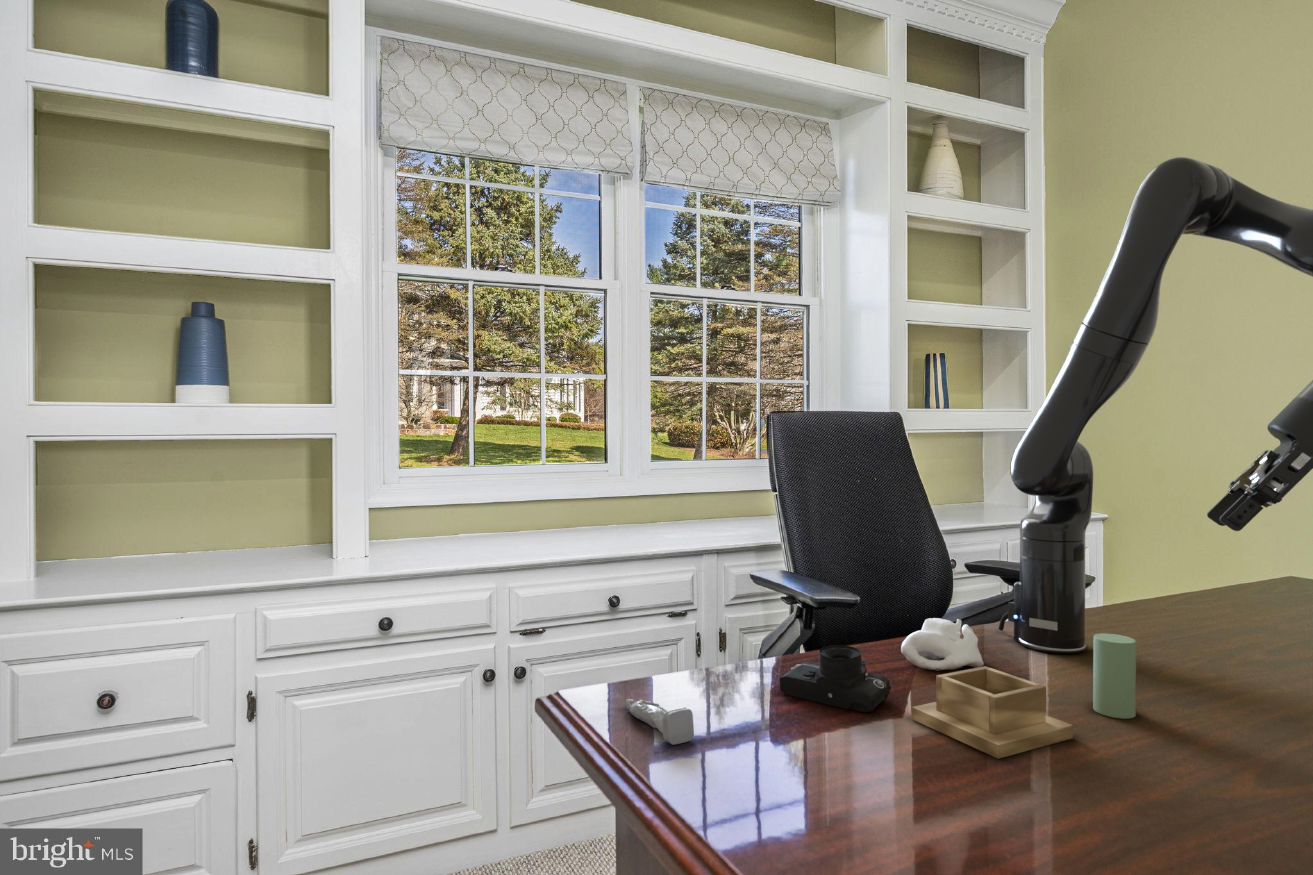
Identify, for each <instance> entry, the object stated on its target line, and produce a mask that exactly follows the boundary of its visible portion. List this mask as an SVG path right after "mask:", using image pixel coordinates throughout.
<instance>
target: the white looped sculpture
mask: <svg viewBox="0 0 1313 875" xmlns="http://www.w3.org/2000/svg"><path fill="white" fill-rule="evenodd" d="M961 635H963V638H961ZM978 643H979V638H978V636H977V635H976V634H975V632H974V629H973V628H972V627H970V625H969V624H967V623H966V624H963V625H962V619H959V618H957V619H956V622H955V623H954V622H953V621H951V620H949V619H945V618H939V617H933V618H931V617H929V618H926V619H925V620H924V622H923V624H922V627H921V629H920V630H916V631H914V632H912V633H910V634H909V635H907V636H906V637H905V639H904V640H903V641H902V643H901V644H900V652H901V654H902V655H903V656H904V657H905V659H906V660H907V661H908V662H910V663H911V664H912V665H914V666H916V667H918V668H920V669H924V670H925V669H926V670H929V671H936V672H939V671H944V670H945V671H946V670H947V671H953V670H957V669H960V668H963V667H964V666H965V667H971V668H978V667H984V666H985V663H984V661H983V658H982V654H981V653H980V648H979V646H978Z"/></svg>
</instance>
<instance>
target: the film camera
mask: <svg viewBox="0 0 1313 875" xmlns="http://www.w3.org/2000/svg"><path fill="white" fill-rule="evenodd" d="M890 682H891V681H890V680H889V679H888V678H887V677H885V676H883V675H880V674H875V673H869V672H868V669H867V667H866V661H865V660H862V652H861V650H860V649H858V648H856V647H853V646H851V645H843V644H832V645H826V646H823V647H821V648H820V649H819V650H818V662H814V661H809V660H808V661H803V662H801V663H800V664H799V663H797V664H796V665H794V666H792V667H791V668H790V670H789V671H787V672H786V673H784V674H783V675H781V677H779V691H780V692H781V693H783V694H784V695H786V696H788V697H794V698H799V699H802V700H806V701H810V702H815V703H820V704H823V705H828V706H833V707H836V708H841V709H844V710H852V711H855V712H856V711H857V712H860V713H870V712H873V711H874V710H875V708H877V706H878V705H879V704H881V702H883V701H884V700H887V699H888V698H889V695H891V690H892V687H891V686H890Z"/></svg>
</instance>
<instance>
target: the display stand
mask: <svg viewBox="0 0 1313 875" xmlns="http://www.w3.org/2000/svg"><path fill="white" fill-rule="evenodd" d="M935 678H936V679H935V684H936V685H935V701H934V702H933V701H932V702H928V703H924V704H919V705H915V706H912V707H911V720H912V721H915V722H916V723H919V724H921V725H924V726H926V727H928V728H930V729H932V730H934V731H937V732H939V733H941V734H943V735H945V736H948V737H950V738H952V739H954V740H956V741H958V742H960V743H963V744H965V745H967V746H969V747H971V748H973V749H975V750H978V751H980V752H982V753H985V754H987V755H989V756H991V757H993V758H994V759H998V760H999V759H1002V758H1006V757H1010V756H1014V755H1017V754H1021V753H1025V752H1028V751H1032V750H1035V749H1036V750H1037V749H1039V748H1042V747H1046V746H1050V745H1054V744H1057V743H1061V742H1064V741H1068V740H1072V739H1074V725H1073V724H1071V723H1068V722H1065V721H1063V720H1060V719H1057V718H1054V717H1052V716H1049V715H1047V686H1046V685H1043V684H1039V683H1037V682H1034V681H1032V680H1028V679H1025V678H1022V677H1018V676H1016V675H1013V674H1010V673H1007V672H1005V671H1001V670H998V669H995V668H993V667H990V666H986V665H983V666H981V667H972V668H969V669H964V670H958V671H951V672H948V673H943V674H937V675H936V677H935Z"/></svg>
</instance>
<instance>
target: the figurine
mask: <svg viewBox="0 0 1313 875" xmlns="http://www.w3.org/2000/svg"><path fill="white" fill-rule="evenodd" d="M625 707H626V709H627V710H628V711H629V712H630V714H631V715H632V716H633V717H635V718H636V719H637V720H640V721H641V722H643V723H645V724H646V725H648V726H650V727H651V728H654V729H657V730H658V731H659V732H660V733H661V734H662V738H663V740H664V741H665V742H667V743H668V744H670V745H672V746H675V745H679V744H682V743H688V742H690V741H692V740H693V739H694V738H695V730H694V729H695V728H694V714H693V711H692V710H691V709H690V708H687V707H685V706H684V707H679V708H674V709H669V710H666V709H665V708H664V707H663V706H661V705H659V703H655V702H653V701H648V700H647V701H646V700H644V699H639V700H638V701H637V700H636V701H635V700H634V699H632V698H627V699H626V700H625Z"/></svg>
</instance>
